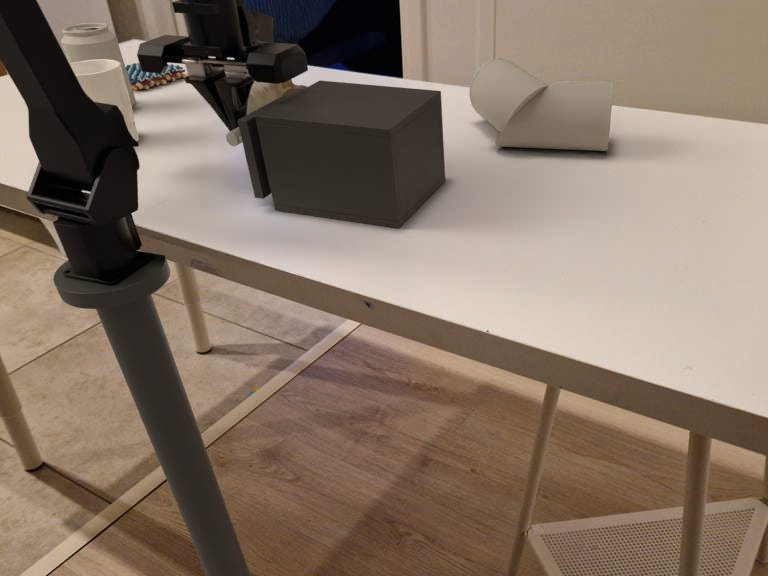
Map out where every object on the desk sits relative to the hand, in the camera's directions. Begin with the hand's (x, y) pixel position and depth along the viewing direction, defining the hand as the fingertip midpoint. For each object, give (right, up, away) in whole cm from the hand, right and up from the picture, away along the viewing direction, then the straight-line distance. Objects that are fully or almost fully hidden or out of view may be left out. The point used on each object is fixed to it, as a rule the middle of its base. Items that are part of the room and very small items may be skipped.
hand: (238, 135), depth 85 cm
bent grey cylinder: (+36, +5, +14) cm, 39 cm away
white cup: (-23, +4, +15) cm, 28 cm away
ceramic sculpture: (-4, +13, +25) cm, 29 cm away
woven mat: (-30, +23, +40) cm, 55 cm away
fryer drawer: (+10, -6, 0) cm, 11 cm away
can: (-29, +13, +27) cm, 42 cm away
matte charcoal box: (+15, -7, -1) cm, 17 cm away
